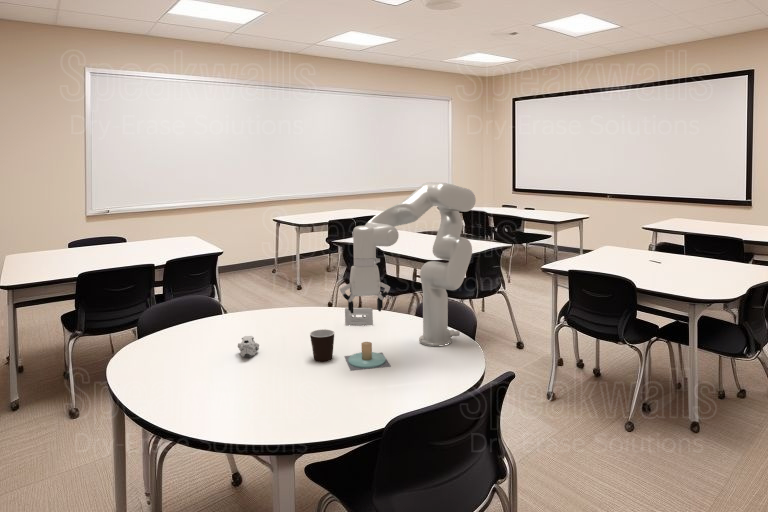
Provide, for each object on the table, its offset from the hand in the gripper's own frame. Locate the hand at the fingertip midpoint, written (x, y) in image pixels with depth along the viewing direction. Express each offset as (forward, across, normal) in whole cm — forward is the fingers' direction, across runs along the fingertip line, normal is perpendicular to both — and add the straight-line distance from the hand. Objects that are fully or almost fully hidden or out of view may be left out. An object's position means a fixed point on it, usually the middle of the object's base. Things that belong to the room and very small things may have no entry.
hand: (365, 311), depth 180 cm
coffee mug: (+19, +14, -8) cm, 25 cm away
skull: (+19, +41, -19) cm, 49 cm away
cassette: (+19, -5, -44) cm, 48 cm away
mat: (+19, 0, 0) cm, 19 cm away
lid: (+18, 0, 0) cm, 18 cm away
